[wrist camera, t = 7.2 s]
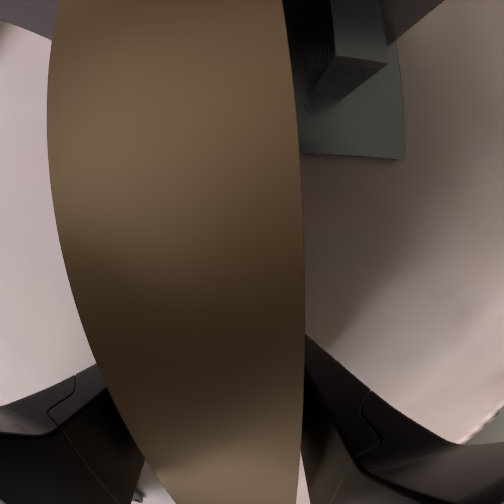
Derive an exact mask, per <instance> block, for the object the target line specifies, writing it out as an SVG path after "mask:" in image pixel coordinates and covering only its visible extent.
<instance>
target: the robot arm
mask: <svg viewBox="0 0 504 504" xmlns="http://www.w3.org/2000/svg"><path fill="white" fill-rule="evenodd" d="M300 449H301V455H302V460H303V465H304V471H305V476H306V482H307V487H308V493H309V498H310V504H504V442H496V443H487V444H475V445H461V444H456V443H452V442H450V441H447V440H445V439H443V438H441V437H440V436H438V435H436V434H435V433H433V432H431V431H430V430H428V429H426V428H425V427H423V426H421V425H420V424H418V423H416V422H415V421H413V420H412V419H410V418H408V417H407V416H405V415H404V414H402V413H401V412H399V411H398V410H396V409H395V408H394V407H392V406H391V405H390V404H388V403H387V402H386V401H384V400H383V399H382V398H381V397H379V396H378V395H377V394H376V393H374V392H373V391H371V389H370V388H368V387H367V386H366V385H365V384H364V383H362V382H361V381H360V380H359V379H358V378H356V377H355V376H354V375H353V374H352V373H350V372H349V371H348V370H347V369H346V368H345V367H343V366H342V365H341V364H340V363H339V362H338V361H336V360H335V359H334V358H333V357H332V356H331V355H329V354H328V353H327V352H326V351H325V350H324V349H322V348H321V347H320V346H319V345H318V344H317V343H315V342H314V341H313V340H312V339H311V338H310V337H308V336H307V335H306V334H305V356H304V391H303V414H302V433H301V448H300ZM144 461H145V457H144V456H143V454H142V453H141V451H140V449H139V448H138V446H137V444H136V442H135V441H134V439H133V437H132V435H131V434H130V432H129V430H128V428H127V426H126V425H125V423H124V421H123V419H122V417H121V415H120V413H119V411H118V409H117V407H116V405H115V403H114V401H113V399H112V397H111V395H110V393H109V390H108V388H107V386H106V384H105V382H104V379H103V377H102V375H101V372H100V370H99V368H98V365H97V363H96V364H94V365H93V366H91V367H89V368H87V369H85V370H83V371H81V372H79V373H77V374H76V376H75V375H73V376H71V377H70V378H68V379H66V380H64V381H62V382H60V383H58V384H56V385H53V386H51V387H49V388H47V389H44V390H42V391H40V392H37V393H35V394H32V395H30V396H27V397H25V398H22V399H20V400H17V401H14V402H12V403H9V404H6V405H3V406H0V504H131V502H132V501H136V502H140V503H142V501H143V498H142V496H141V495H140V494H139V493H138V491H137V490H136V486H137V483H138V480H139V477H140V473H141V470H142V467H143V464H144Z"/></svg>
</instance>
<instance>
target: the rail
mask: <svg viewBox="0 0 504 504" xmlns="http://www.w3.org/2000/svg"><path fill="white" fill-rule="evenodd" d="M47 143H48V160H49V172H50V182H51V191H52V199H53V206H54V212H55V219H56V224H57V230H58V235H59V240H60V245H61V250H62V254H63V259H64V263H65V267H66V271H67V275H68V279H69V283H70V287H71V290H72V294H73V297H74V300H75V304H76V307H77V310H78V313H79V316H80V320H81V323H82V325H83V328H84V331H85V334H86V337H87V340H88V342H89V345H90V348H91V350H92V353H93V355H94V358H95V360H96V363H97V365H98V368H99V370H100V372H101V375H102V377H103V379H104V382H105V384H106V386H107V388H108V390H109V393H110V395H111V397H112V399H113V401H114V403H115V405H116V407H117V409H118V411H119V413H120V415H121V417H122V419H123V421H124V423H125V425H126V426H127V428H128V430H129V432H130V434H131V435H132V437H133V439H134V441H135V442H136V444H137V446H138V448H139V449H140V451H141V453H142V454H143V456H144V457H145V459H146V461H147V462H148V464H149V465H150V467H151V469H152V470H153V472H154V473H155V475H156V476H157V478H158V479H159V481H160V482H161V483H162V485H163V486H164V488H165V489H166V491H167V492H168V493H169V495H170V496H171V497H172V499H173V500H174V501H175V503H176V504H296V496H297V486H298V475H299V462H300V448H301V433H302V414H303V391H304V356H305V271H304V234H303V210H302V190H301V173H300V158H299V144H298V132H297V120H296V109H295V99H294V89H293V80H292V71H291V62H290V54H289V46H288V39H287V31H286V24H285V17H284V11H283V4H282V0H59V5H58V10H57V14H56V20H55V25H54V31H53V38H52V45H51V53H50V62H49V74H48V90H47Z"/></svg>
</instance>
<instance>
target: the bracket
mask: <svg viewBox="0 0 504 504" xmlns="http://www.w3.org/2000/svg"><path fill="white" fill-rule="evenodd" d="M443 1H444V0H282V4H283V11H284V17H285V24H286V31H287V39H288V46H289V54H290V62H291V71H292V80H293V89H294V99H295V109H296V120H297V132H298V144H299V153H308V154H333V155H350V156H364V157H376V158H387V159H396V160H404V116H403V100H402V87H401V77H400V68H399V60H398V53H397V46H396V40H397V39H398V38H399V37H400V36H401V35H403V34H404V33H405V32H406V31H407V30H409V29H410V28H411V27H412V26H413V25H415V24H416V23H417V22H418V21H419V20H421V19H422V18H423V17H424V16H426V15H427V14H428V13H429V12H431V11H432V10H433V9H434V8H436V7H437V6H438V5H439V4H441V3H442V2H443ZM58 5H59V0H0V20H3V21H6V22H8V23H11V24H14V25H16V26H19V27H21V28H24V29H26V30H29V31H31V32H34V33H36V34H39V35H41V36H43V37H46V38H48V39H50V40H52V38H53V31H54V25H55V20H56V14H57V10H58Z"/></svg>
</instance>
